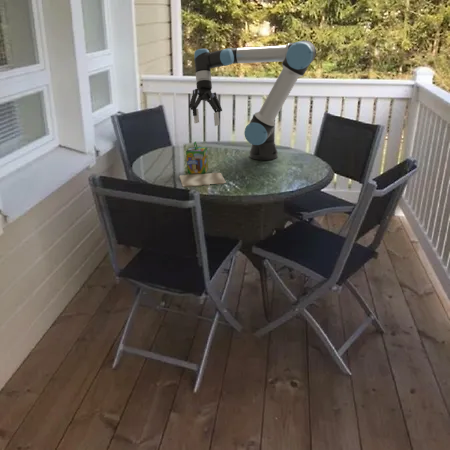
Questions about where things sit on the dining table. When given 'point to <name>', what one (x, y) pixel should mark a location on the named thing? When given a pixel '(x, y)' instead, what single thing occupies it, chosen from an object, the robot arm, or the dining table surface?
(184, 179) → the board
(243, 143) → the dining table surface
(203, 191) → the dining table surface
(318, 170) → the dining table surface
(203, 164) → the chalk box
